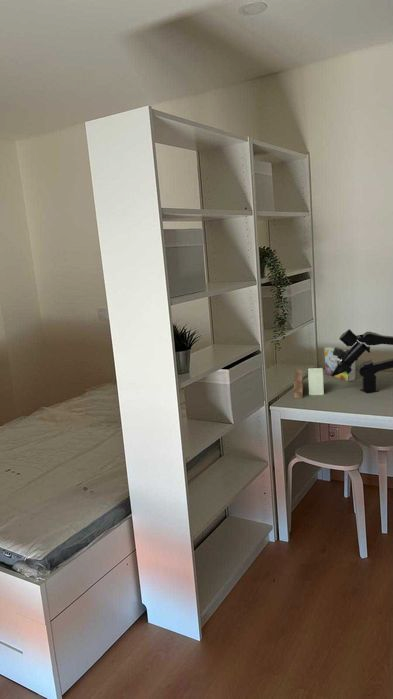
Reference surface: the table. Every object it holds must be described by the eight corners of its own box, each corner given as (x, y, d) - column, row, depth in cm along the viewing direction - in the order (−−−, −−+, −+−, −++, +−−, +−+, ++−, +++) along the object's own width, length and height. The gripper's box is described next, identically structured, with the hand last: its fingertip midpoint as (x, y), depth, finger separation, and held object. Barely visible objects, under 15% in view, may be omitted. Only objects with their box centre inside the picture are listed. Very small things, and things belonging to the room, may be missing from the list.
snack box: (324, 373, 301) (323, 347, 298) (333, 372, 302) (332, 346, 299) (347, 382, 281) (346, 354, 278) (356, 380, 283) (356, 352, 280)
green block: (323, 389, 272) (322, 368, 270) (323, 394, 263) (322, 373, 260) (309, 389, 274) (308, 368, 272) (309, 395, 264) (308, 373, 262)
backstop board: (303, 386, 279) (302, 369, 277) (302, 398, 260) (302, 380, 258) (295, 386, 280) (294, 370, 278) (294, 398, 261) (293, 380, 259)
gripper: (341, 338, 269) (319, 360, 274) (343, 345, 251) (320, 369, 256) (357, 352, 269) (335, 374, 274) (361, 361, 251) (337, 384, 256)
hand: (332, 375), depth 265 cm, fingers closed
